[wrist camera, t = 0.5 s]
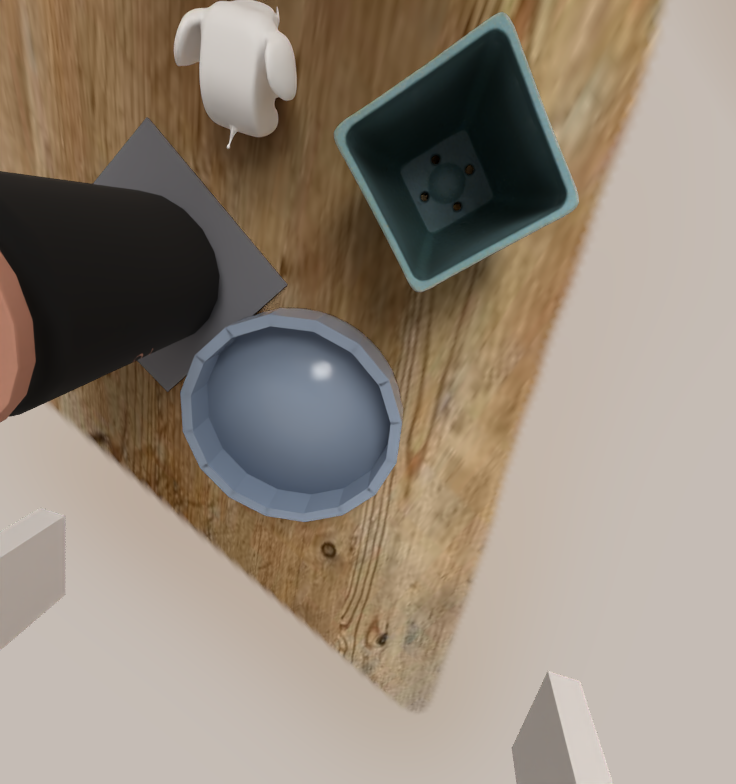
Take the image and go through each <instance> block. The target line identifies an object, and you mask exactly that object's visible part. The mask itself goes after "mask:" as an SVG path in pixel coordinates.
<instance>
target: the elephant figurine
mask: <svg viewBox="0 0 736 784" xmlns="http://www.w3.org/2000/svg"><path fill="white" fill-rule="evenodd" d="M279 22H280V18H279V11H278V7H277V13H275V12H274V10H273V9H272V8H271V7H270V6H268V5H266V4H264V3H261V2H258V1H255V0H235V1H218V2H216V3H214V4H213V5H211V6H210V7H208V8H196V9H193V10H191V11H189V12H187V13H186V14H185V15H184V16H183V18H182V20H181V22H180V24H179V27H178V29H177V32H176V37H175V42H174V58H175V62H176V64H177V65H178V66H188V65H192V64H194V63H197V62H199V61H200V66H199V78H200V90H201V96H202V101H203V105H204V108H205V110H206V113H207V114H208V116H209V117H210V118H211V120H212V121H214V122H215V123H216V124H218V125H220V126H223V127H225V128H228V129H230V141H229V144H228V145H227V147H226V148H227V149H230V144H231V141H232V139H233V137H234V135H235V134H236V132H240V133H243V134H247V135H250V136H254V137H264V136H267V135H269V134H271V133H272V132H273V131H274V130H275V129H276V127H277V125H278V112H277V110H276V108H275V105H274V104H275V98H279V97H280V98H281V99H283V100H285V101H289V100H292V99H293V98H294V97H295V95H296V89H297V73H296V64H295V57H294V52H293V49H292V46H291V43H290V41H289V40H288V38H287V37H286V36H285V35H284V34H283V33H281V32H279V31H278V26H279Z"/></svg>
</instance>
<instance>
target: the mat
mask: <svg viewBox="0 0 736 784" xmlns="http://www.w3.org/2000/svg"><path fill="white" fill-rule="evenodd" d="M93 184H96V185H104V186H111V187H118V188H126V189H133V190H140V191H144V192H148V193H152V194H156V195H161V196H163V197H165V198H166V199H168V200H170V201H171V202H173V203H175V204H176V205H178V206H180V207H181V208H183V209H184V210H185V211H186V212H187V213H188V214H189V215H190V216H191V217H192V218H193V219H194V221H195V222H196V223H197V224H198V225H199V226H200V227H201V228H202V229H203V231H204V233H205V235H206V237H207V239H208V240H209V242H210V244H211V246H212V248H213V250H214V252H215V256H216V261H217V266H218V271H219V275H220V277H219V289H218V299H217V301H216V304H215V306H214V308H213V311H212V313H211V315H210V318H209V319H208V320H207V321H206V323H205V324H204V325H203V326H202V327H201V328H200V329H199V330H198V331H197V332H196V333H195V334H192V335H190V336H188V337H186V338H184V339H182V340H180V341H177V342H175V343H173V344H171V345H169V346H167V347H164V348H162V349H160V350H158V351H156V352H154V353H152V354H149V355H147V356H145V357H143V358H141V359H139V360H137V361H138V362H139V363H140V364H141V365H142V366H143V367H144V368H145V369H146V370H147V371H148V372H149V373H150V374H151V375H152V376H153V377H154V379H155V380H156V381H157V382H158V383H159V384H160V385H161V386H162V387H163V388H164V389H165V390H166V391H167V392H168V391H169V390H170V389H172V388H173V387H174V386H175V385H176V384H177V383H178V382H179V381H180V380H182V379H183V378H184V377H185V376H186V375H187V374H188V371H189V369H190V366H191V364H192V361H193V359H194V356H195V355H196V354H197V353H198V352H199V351H200V350H201V349H202V348H203V347H204V346H205V345H207V344H208V343H209V342H210V341H211V340H212V339H213V338H214V337H215V336H216V335H218V334H219V333H220V332H221V331H222V330H223V329H224V328H225V327H227V326H229V325H231V324H233V323H235V322H237V321H239V320H241V319H244V318H248V317H251V316H253V315H254V314H255V313H256V312H258V311H259V310H260V309H261V308H262V307H263V306H264V305H265V304H266V303H268V302H269V301H270V300H271V299H272V298H273V297H274V296H275V295H277V294H278V293H279V292H280V291H281V290H282V289H283V288H284V287H285V286H287V283H286V282H285V281H284V280H283V279H282V277H281V276H280V275H279V274H278V273H277V271H276V270H275V269H274V268H273V267H272V265H271V264H270V263H269V262H268V261H267V259H266V258H265V257H264V256H263V255H262V253H261V252H260V251H259V250H258V249H257V247H256V246H255V245H254V244H253V243H252V241H251V240H250V239H249V238H248V237H247V235H246V234H245V233H244V232H243V231H242V229H241V228H240V227H239V226H238V225H237V223H236V222H235V221H234V220H233V219H232V217H231V216H230V215H229V214H228V213H227V211H226V210H225V209H224V208H223V207H222V205H221V204H220V203H219V202H218V201H217V199H216V198H215V197H214V196H213V195H212V193H211V192H210V191H209V190H208V189H207V187H206V186H205V185H204V184H203V183H202V181H201V180H200V179H199V178H198V177H197V175H196V174H195V173H194V172H193V171H192V169H191V168H190V167H189V166H188V165H187V163H186V162H185V161H184V160H183V159H182V157H181V156H180V155H179V154H178V153H177V151H176V150H175V149H174V148H173V147H172V145H171V144H170V143H169V142H168V141H167V139H166V138H165V137H164V136H163V135H162V133H161V132H160V131H159V130H158V129H157V127H156V126H155V125H154V124H153V123H152V121H151V120H150V119H149V118H146V119H145V120H144V121H143V123H142V124H141V125H140V126H139V127H138V129H137V130H136V131H135V132H134V134H133V135H132V136H131V137H130V139H129V140H128V141H127V142H126V144H125V145H124V146H123V147H122V148H121V150H120V151H119V152H118V153H117V155H116V156H115V157H114V158H113V160H112V161H111V162H110V163H109V165H108V166H107V167H106V168H105V169H104V171H103V172H102V173H101V174H100V176H99V177H98V178H97V179H96V181H95V182H94V183H93Z"/></svg>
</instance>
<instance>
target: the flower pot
mask: <svg viewBox="0 0 736 784" xmlns="http://www.w3.org/2000/svg"><path fill="white" fill-rule="evenodd" d="M334 140H335V142H336V145H337V147H338V149H339V151H340V153H341V154H342V156H343V158H344V159H345V161H346V163H347V165H348V167H349V169H350V171H351V173H352V174H353V176H354V178H355V180H356V182H357V184H358V185H359V187H360V189H361V191H362V193H363V195H364V197H365V199H366V200H367V202H368V204H369V206H370V208H371V210H372V212H373V214H374V216H375V218H376V220H377V222H378V223H379V225H380V227H381V229H382V231H383V233H384V235H385V237H386V239H387V241H388V243H389V245H390V247H391V249H392V251H393V253H394V255H395V257H396V259H397V261H398V262H399V265H400V266H401V268H402V271H403V273H404V275H405V277H406V279H407V281H408V283H409V285H410V286H411V287H412V289H413V290H414V291H416V292H423V291H426V290H428V289H430V288H432V287H434V286H436V285H437V284H439V283H441V282H443V281H445V280H446V279H448V278H450V277H452V276H454V275H456V274H457V273H459V272H461V271H463V270H465V269H466V268H468V267H470V266H472V265H473V264H475V263H477V262H479V261H481V260H483V259H484V258H486V257H488V256H490V255H492V254H494V253H496V252H497V251H499V250H501V249H503V248H505V247H507V246H509V245H510V244H512V243H514V242H516V241H518V240H520V239H522V238H524V237H526V236H527V235H529V234H531V233H533V232H535V231H537V230H539V229H540V228H542V227H544V226H546V225H548V224H550V223H552V222H554V221H556V220H558V219H560V218H562V217H564V216H565V215H567V214H569V213H570V212H572V211H573V210H574V209H575V208H576V207H577V205H578V203H579V200H578V193H577V189H576V186H575V184H574V182H573V179H572V177H571V174H570V172H569V169H568V166H567V164H566V162H565V159H564V157H563V154H562V152H561V150H560V147H559V144H558V141H557V140H556V137H555V134H554V132H553V129H552V126H551V124H550V121H549V119H548V116H547V114H546V111H545V109H544V106H543V103H542V101H541V98H540V94H539V92H538V90H537V87H536V84H535V81H534V78H533V76H532V73H531V71H530V68H529V66H528V62H527V60H526V57H525V54H524V52H523V49H522V46H521V43H520V41H519V38H518V35H517V32H516V30H515V27H514V25H513V23H512V21H511V19H510V18H509V16H508V15H507V14H505V13H503V12H500V13H497V14H496V15H494V16H492V17H491V18H489V19H488V20H486V21H484V22H483V23H482V24H481V25H479V26H478V27H477V28H475V29H474V30H472V31H471V32H469V33H468V34H467V35H466V36H464V37H463V38H462V39H460V40H459V41H457V42H456V43H454V44H453V45H451V46H450V47H449V48H448V49H446V50H445V51H443V52H442V53H441V54H440V55H438V56H437V57H435V58H434V59H433V60H431V61H430V62H429V63H427V64H426V65H424V66H423V67H421V68H420V69H418V70H417V71H415V72H414V73H413V74H411V75H410V76H408V77H407V78H405V79H404V80H403V81H401V82H400V83H398V84H397V85H395V86H394V87H393V88H391V89H390V90H388V91H387V92H386V93H384V94H383V95H381V96H380V97H378V98H377V99H375V100H374V101H372V102H371V103H369V104H368V105H366V106H365V107H363V108H362V109H360V110H359V111H357V112H356V113H355V114H353V115H351V116H349V117H348V118H346V119H345V120H344V121H343V122H341V123H340V124H339V125H338V126H337V128H336V129H335V131H334ZM435 155H437V156H439V158H440V160H439V163H438V164H433V163H432V161H431V159H432V157H433V156H435ZM468 165H471V166H473V168H474V170H473V173H472V174H467V173H466V172H465V168H466V167H467V166H468ZM422 193H427V194H428V199H427V200H426V201H422V200H421V198H420V197H421V194H422ZM457 202H459V203H460V204H461V208H460V210H458V211H456V210H454V208H453V206H454V204H455V203H457Z"/></svg>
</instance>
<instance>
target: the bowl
mask: <svg viewBox="0 0 736 784" xmlns="http://www.w3.org/2000/svg"><path fill="white" fill-rule="evenodd" d="M180 394H181V409H182V425H183V433H184V435H185V437H186V439H187V441H188V444H189V446H190V448H191V450H192V452H193V454H194V456H195V458H196V460H197V462H198V465H199V467H200V468H201V469H202V470H203V471H204V472H205V473H206V475H207V476H208V477H209V478H210V479H211V480H212V481H213V482H214V483H215V484H216V485H217V486H218V487H219V488H220V489H221V490H222V491H223V492H224V493H225V494H226V495H227V496H228V497H230V498H232V499H234V500H235V501H237V502H239V503H241V504H243V505H245V506H247V507H249V508H251V509H253V510H255V511H257V512H259V513H261V514H263V515H265V516H270V517H276V518H283V519H289V520H295V521H302V522H308V521H313V520H319V519H324V518H329V517H335V516H340V515H344V514H345V513H347V512H349V511H350V510H352V509H353V508H355V507H357V506H358V505H360V504H361V503H363V502H365V501H366V500H368V499H369V498H371V497H372V496H374V495H375V494H376V493H377V491H378V490H379V488H380V487H381V485H382V484H383V482H384V481H385V479H386V478H387V476H388V475H389V473H390V472H391V470H392V469H393V467H394V466H395V464H396V462H397V455H398V448H399V441H400V434H401V426H402V418H403V405H402V402H401V396H400V391H399V387H398V384H397V381H396V378H395V375H394V373H393V371H392V369H391V367H390V365H389V363H388V361H387V360H386V358H385V357H384V356H383V354H382V353H381V351H380V350H379V349H378V348H377V347H376V346H375V344H374V343H373V342H372V341H371V340H370V339H369V338H368V337H366V336H365V335H364V334H363V333H362V332H361V331H359V330H358V329H356V328H355V327H353V326H352V325H350V324H349V323H347V322H345V321H343V320H341V319H339V318H337V317H335V316H333V315H330V314H326V313H323V312H320V311H316V310H311V309H305V308H278V309H274V310H270V311H265V312H262V313H259V314H257V315H254V316H251V317H248V318H244V319H241V320H239V321H237V322H235V323H233V324H231V325H229V326H227V327H225V328H224V329H223V330H222V331H221V332H220V333H219V334H218V335H216V336H215V337H214V338H213V339H212V340H211V341H210V342H209V343H208V344H207V345H205V346H204V347H203V348H202V349H201V350H200V351H199V352H198V353H197V354H196V355H195V356H194V359H193V361H192V364H191V366H190V369H189V371H188V374H187V377H186V379H185V382H184V384H183V387H182V389H181V392H180Z"/></svg>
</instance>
